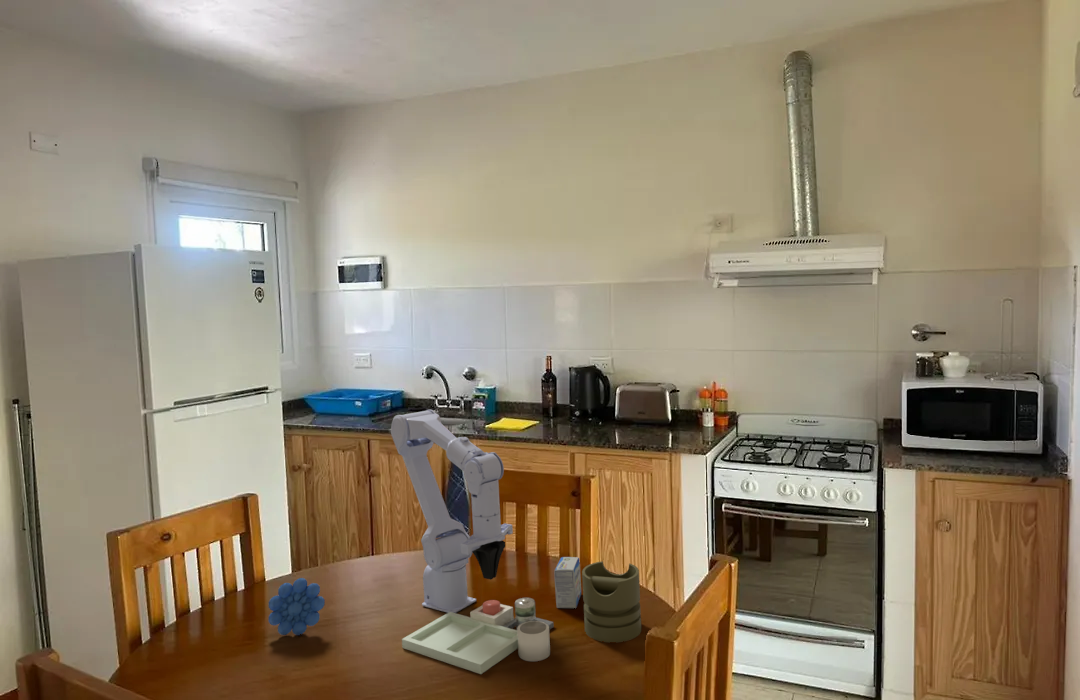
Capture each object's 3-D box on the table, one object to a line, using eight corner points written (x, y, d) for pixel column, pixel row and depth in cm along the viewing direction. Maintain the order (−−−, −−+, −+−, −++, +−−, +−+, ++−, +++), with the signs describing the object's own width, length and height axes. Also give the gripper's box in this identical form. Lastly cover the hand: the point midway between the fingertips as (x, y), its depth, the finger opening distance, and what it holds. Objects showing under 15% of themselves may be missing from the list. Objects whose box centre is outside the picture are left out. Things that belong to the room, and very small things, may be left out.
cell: (512, 632, 148) (510, 601, 148) (524, 624, 151) (522, 594, 151) (528, 636, 146) (526, 605, 145) (540, 628, 149) (538, 598, 149)
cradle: (498, 633, 148) (498, 629, 148) (522, 618, 154) (521, 613, 154) (530, 643, 143) (530, 638, 143) (553, 626, 150) (553, 622, 149)
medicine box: (576, 609, 157) (574, 570, 157) (555, 608, 158) (553, 569, 158) (581, 594, 165) (579, 556, 164) (562, 593, 166) (560, 556, 165)
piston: (632, 584, 139) (575, 579, 143) (634, 645, 140) (577, 639, 144) (644, 563, 150) (590, 558, 154) (646, 619, 151) (593, 614, 155)
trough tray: (402, 647, 144) (401, 639, 144) (450, 619, 155) (449, 611, 155) (481, 674, 132) (480, 664, 132) (526, 641, 144) (526, 633, 143)
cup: (512, 656, 138) (510, 630, 138) (530, 643, 143) (529, 617, 143) (538, 664, 135) (536, 637, 134) (556, 650, 140) (555, 624, 139)
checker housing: (471, 626, 152) (470, 612, 151) (489, 614, 157) (489, 601, 157) (495, 633, 148) (494, 618, 148) (513, 621, 153) (512, 607, 153)
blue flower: (331, 623, 156) (327, 568, 156) (324, 638, 150) (320, 581, 149) (275, 627, 156) (271, 572, 155) (266, 642, 149) (261, 585, 148)
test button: (480, 623, 152) (479, 605, 152) (491, 617, 155) (490, 598, 155) (493, 627, 150) (492, 608, 150) (504, 620, 153) (503, 602, 152)
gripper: (478, 526, 142) (482, 593, 143) (522, 506, 154) (526, 569, 155) (451, 521, 146) (455, 587, 147) (496, 502, 158) (499, 563, 159)
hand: (489, 577), depth 152 cm, fingers closed
